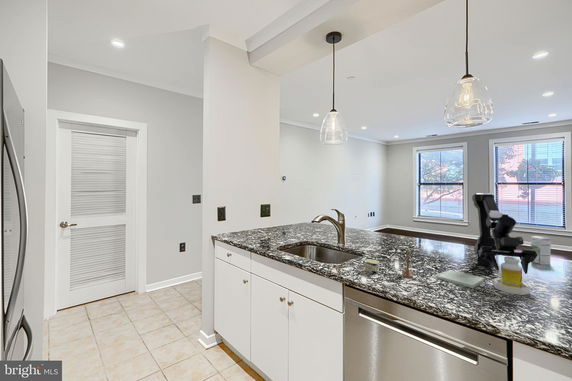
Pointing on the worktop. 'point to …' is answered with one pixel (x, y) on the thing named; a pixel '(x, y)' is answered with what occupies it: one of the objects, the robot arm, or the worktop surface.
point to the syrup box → (541, 249)
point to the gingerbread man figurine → (406, 272)
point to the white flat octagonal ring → (511, 288)
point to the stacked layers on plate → (371, 265)
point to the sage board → (461, 278)
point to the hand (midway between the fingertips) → (512, 271)
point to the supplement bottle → (511, 272)
